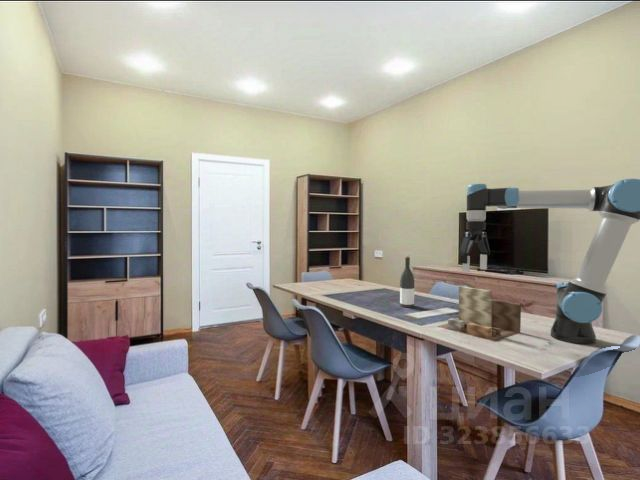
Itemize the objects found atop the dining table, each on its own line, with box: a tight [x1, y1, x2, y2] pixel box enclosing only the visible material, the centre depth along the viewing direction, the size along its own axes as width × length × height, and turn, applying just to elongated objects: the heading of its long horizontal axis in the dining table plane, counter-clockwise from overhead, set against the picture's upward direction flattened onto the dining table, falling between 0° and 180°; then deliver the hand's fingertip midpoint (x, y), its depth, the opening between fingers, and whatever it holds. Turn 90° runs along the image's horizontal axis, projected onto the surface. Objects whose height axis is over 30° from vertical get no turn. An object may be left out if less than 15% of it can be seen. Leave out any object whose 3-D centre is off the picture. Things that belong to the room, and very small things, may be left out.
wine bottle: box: [399, 254, 415, 308], centre depth 202 cm, size 8×8×30 cm
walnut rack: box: [437, 298, 522, 343], centre depth 150 cm, size 26×21×14 cm
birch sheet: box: [458, 285, 493, 327], centre depth 148 cm, size 14×2×18 cm, turn 36°
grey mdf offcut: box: [447, 317, 464, 331], centre depth 150 cm, size 6×3×4 cm, turn 36°
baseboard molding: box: [403, 306, 459, 320], centre depth 184 cm, size 31×3×12 cm
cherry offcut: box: [467, 323, 492, 339], centre depth 141 cm, size 9×3×4 cm, turn 36°
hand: (474, 270), depth 148 cm, fingers open, 13 cm apart
